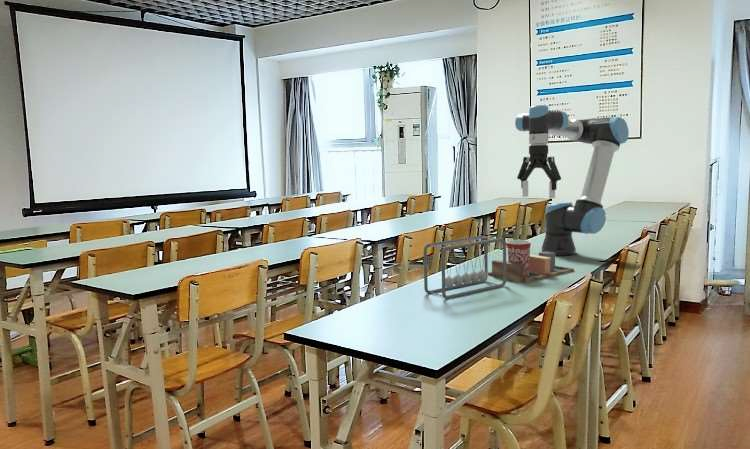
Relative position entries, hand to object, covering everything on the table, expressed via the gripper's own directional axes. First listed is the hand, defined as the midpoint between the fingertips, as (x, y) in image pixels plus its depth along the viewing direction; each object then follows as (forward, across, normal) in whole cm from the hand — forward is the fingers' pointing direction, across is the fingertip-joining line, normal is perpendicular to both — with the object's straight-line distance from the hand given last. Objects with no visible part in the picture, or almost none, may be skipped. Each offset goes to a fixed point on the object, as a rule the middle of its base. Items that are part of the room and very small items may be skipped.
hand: (538, 197), depth 241 cm
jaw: (+29, +6, -10) cm, 31 cm away
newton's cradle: (+29, +9, -49) cm, 58 cm away
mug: (+29, +6, -17) cm, 34 cm away
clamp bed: (+29, +6, -12) cm, 32 cm away
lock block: (+29, +6, -2) cm, 29 cm away
